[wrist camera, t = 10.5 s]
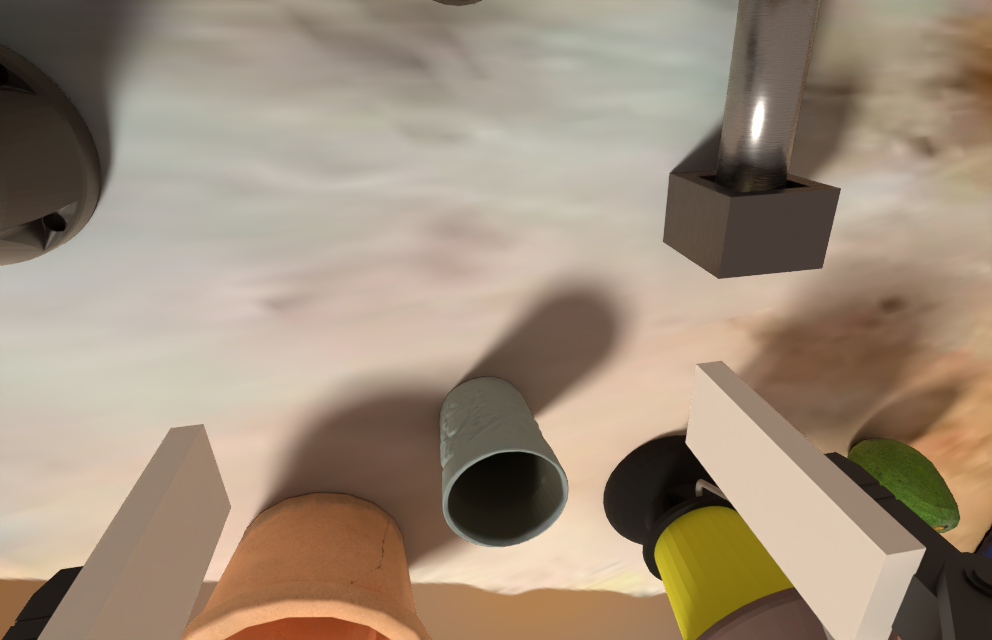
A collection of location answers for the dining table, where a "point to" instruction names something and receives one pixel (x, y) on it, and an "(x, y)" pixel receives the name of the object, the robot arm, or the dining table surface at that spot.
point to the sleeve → (749, 225)
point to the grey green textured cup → (497, 466)
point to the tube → (765, 92)
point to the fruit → (909, 480)
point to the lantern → (704, 550)
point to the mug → (457, 2)
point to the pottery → (314, 577)
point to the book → (986, 546)
